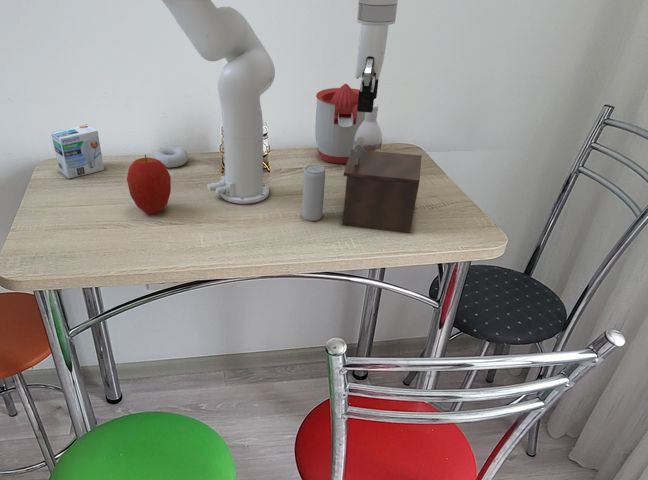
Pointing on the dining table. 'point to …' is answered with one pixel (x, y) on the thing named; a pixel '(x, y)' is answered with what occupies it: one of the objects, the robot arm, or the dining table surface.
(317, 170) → the beverage can
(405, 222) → the chest
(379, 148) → the bath foam
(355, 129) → the citrus juicer
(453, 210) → the dining table surface
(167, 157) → the donut
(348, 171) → the lid
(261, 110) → the robot arm
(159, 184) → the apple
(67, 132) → the light bulb box
